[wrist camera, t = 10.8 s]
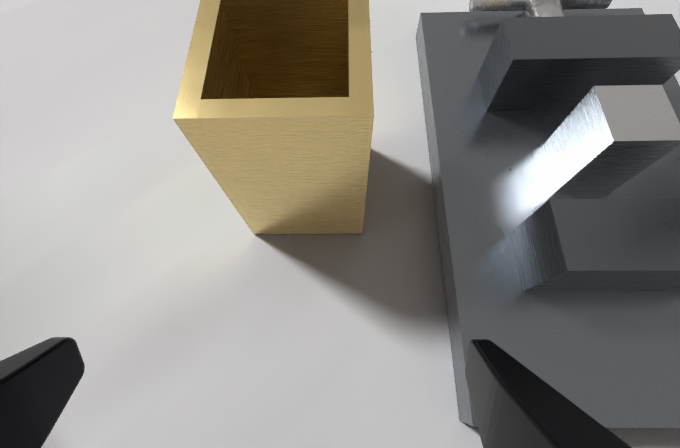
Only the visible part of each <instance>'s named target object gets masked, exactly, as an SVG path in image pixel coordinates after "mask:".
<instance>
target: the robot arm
mask: <svg viewBox="0 0 680 448" xmlns="http://www.w3.org/2000/svg"><path fill="white" fill-rule="evenodd" d="M84 368H85V367H84V362H83V359H82V357H81V354H80V351H79V348H78V346H77V343H76V341H75V340H74V339H73V338H70V337H54V338H50V339H48V340H45V341H43V342H41V343H39V344H37V345H34V346H32V347H30V348H28V349H26V350H24V351H21V352H19V353H17V354H15V355H13V356H11V357H8V358H6V359H4V360H2V361H0V448H41V447H42V445H43V444H44V442H45V440H46V439H47V437H48V435H49V434H50V432H51V430H52V428H53V427H54V425H55V423H56V421H57V420H58V418H59V416H60V415H61V413H62V411H63V409H64V408H65V406H66V404H67V402H68V401H69V399H70V397H71V395H72V394H73V392H74V390H75V388H76V387H77V385H78V383H79V381H80V380H81V378H82V376H83V373H84ZM465 378H466V382H467V386H468V390H469V394H470V398H471V402H472V406H473V410H474V414H475V418H476V422H477V426H478V430H479V433H480V437H481V441H482V445H483V448H631V447H630V446H629V445H628V444H626V443H625V442H624V441H622V440H621V439H620V438H618V437H617V436H616V435H614V434H613V433H612V432H610V431H609V430H608V429H606V428H605V427H604V426H603V425H601V424H600V423H599V422H597V421H596V420H595V419H593V418H592V417H591V416H589V415H588V414H587V413H585V412H584V411H583V410H582V409H580V408H579V407H578V406H576V405H575V404H574V403H572V402H571V401H570V400H568V399H567V398H566V397H564V396H563V395H562V394H561V393H559V392H558V391H557V390H555V389H554V388H553V387H551V386H550V385H549V384H547V383H546V382H545V381H543V380H542V379H541V378H540V377H538V376H537V375H536V374H534V373H533V372H532V371H530V370H529V369H528V368H526V367H525V366H524V365H522V364H521V363H520V362H519V361H517V360H516V359H515V358H513V357H512V356H511V355H509V354H508V353H507V352H505V351H504V350H503V349H501V348H500V347H499V346H498V345H496V344H495V343H494V342H492V341H491V340H488V339H472V340H471V341H470V342H469V345H468V350H467V357H466V363H465Z"/></svg>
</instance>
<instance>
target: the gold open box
mask: <svg viewBox="0 0 680 448" xmlns="http://www.w3.org/2000/svg"><path fill="white" fill-rule="evenodd" d="M373 119H374V109H373V86H372V63H371V41H370V18H369V0H200V5H199V9H198V13H197V18H196V22H195V26H194V30H193V35H192V39H191V43H190V47H189V52H188V56H187V60H186V64H185V69H184V73H183V77H182V82H181V86H180V90H179V94H178V99H177V103H176V107H175V111H174V116H173V120H174V121H175V122H176V124H177V125H178V127H179V128H180V130H181V131H182V132H183V134H184V135H185V137H186V138H187V140H188V141H189V142H190V144H191V145H192V147H193V148H194V150H195V151H196V152H197V154H198V155H199V157H200V158H201V160H202V161H203V162H204V164H205V165H206V167H207V168H208V170H209V171H210V172H211V174H212V175H213V177H214V178H215V180H216V181H217V182H218V184H219V185H220V187H221V188H222V189H223V191H224V192H225V194H226V195H227V197H228V198H229V199H230V201H231V202H232V204H233V205H234V207H235V208H236V209H237V211H238V212H239V214H240V215H241V217H242V218H243V219H244V221H245V222H246V224H247V225H248V227H249V228H250V229H251V231H252V232H253V234H363V223H364V213H365V202H366V192H367V181H368V171H369V161H370V150H371V140H372V129H373Z"/></svg>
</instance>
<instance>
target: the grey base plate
mask: <svg viewBox="0 0 680 448" xmlns="http://www.w3.org/2000/svg"><path fill="white" fill-rule="evenodd" d="M611 1H612V0H470V3H469V10H470V12H442V13H421V14H420V19H419V24H418V29H417V34H416V42H417V51H418V60H419V68H420V77H421V86H422V95H423V103H424V112H425V121H426V130H427V138H428V147H429V156H430V165H431V173H432V182H433V191H434V200H435V209H436V217H437V226H438V235H439V244H440V252H441V261H442V270H443V279H444V287H445V296H446V305H447V314H448V322H449V331H450V340H451V349H452V357H453V366H454V375H455V384H456V392H457V401H458V410H459V419H460V421H461V422H463V423H466V424H468V425H470V426H472V427H478V426H477V422H476V418H475V414H474V410H473V406H472V402H471V398H470V394H469V390H468V386H467V382H466V378H465V363H466V357H467V350H468V345H469V342H470V341H471V340H472V339H488V340H491V341H492V342H494V343H495V344H496V345H498V346H499V347H500V348H501V349H503V350H504V351H505V352H507V353H508V354H509V355H511V356H512V357H513V358H515V359H516V360H517V361H519V362H520V363H521V364H522V365H524V366H525V367H526V368H528V369H529V370H530V371H532V372H533V373H534V374H536V375H537V376H538V377H540V378H541V379H542V380H543V381H545V382H546V383H547V384H549V385H550V386H551V387H553V388H554V389H555V390H557V391H558V392H559V393H561V394H562V395H563V396H564V397H566V398H567V399H568V400H570V401H571V402H572V403H574V404H575V405H576V406H578V407H579V408H580V409H582V410H583V411H584V412H585V413H587V414H588V415H589V416H591V417H592V418H593V419H595V420H596V421H597V422H599V423H600V424H601V425H603V426H604V427H605V428H680V86H679V84H678V82H677V80H676V78H675V76H674V74H675V73H676V72H677V71H679V70H680V29H679V27H678V25H677V23H676V21H675V19H674V18H673V16H672V14H654V15H645V14H644V12H643V10H642V8H629V9H605V8H607V7H608V6H609V5H610V3H611ZM572 9H582V10H572ZM479 11H489V12H479Z"/></svg>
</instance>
